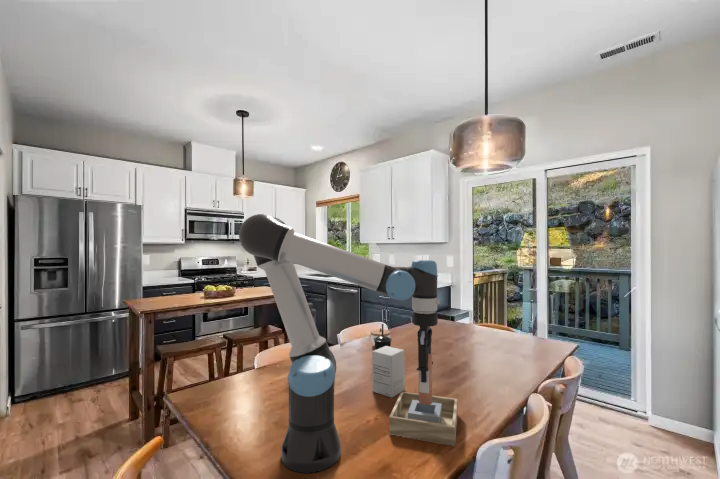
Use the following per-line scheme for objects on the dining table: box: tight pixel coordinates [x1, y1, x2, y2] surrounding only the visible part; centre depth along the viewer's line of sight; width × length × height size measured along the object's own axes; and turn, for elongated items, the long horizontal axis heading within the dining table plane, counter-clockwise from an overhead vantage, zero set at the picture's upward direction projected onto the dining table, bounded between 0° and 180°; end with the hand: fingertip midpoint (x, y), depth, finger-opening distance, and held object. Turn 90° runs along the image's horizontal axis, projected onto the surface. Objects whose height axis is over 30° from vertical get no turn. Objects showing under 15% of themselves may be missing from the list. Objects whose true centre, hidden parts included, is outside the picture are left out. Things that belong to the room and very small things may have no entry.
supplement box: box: [371, 346, 406, 399], centre depth 127 cm, size 9×9×15 cm
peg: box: [418, 353, 433, 405], centre depth 104 cm, size 4×4×14 cm
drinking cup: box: [374, 323, 392, 350], centre depth 148 cm, size 8×8×20 cm
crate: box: [388, 391, 458, 447], centre depth 103 cm, size 18×18×5 cm
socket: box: [408, 400, 442, 424], centre depth 103 cm, size 9×9×4 cm
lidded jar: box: [370, 327, 392, 346], centre depth 184 cm, size 11×11×9 cm
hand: (425, 389), depth 104 cm, fingers closed on peg, 4 cm apart
